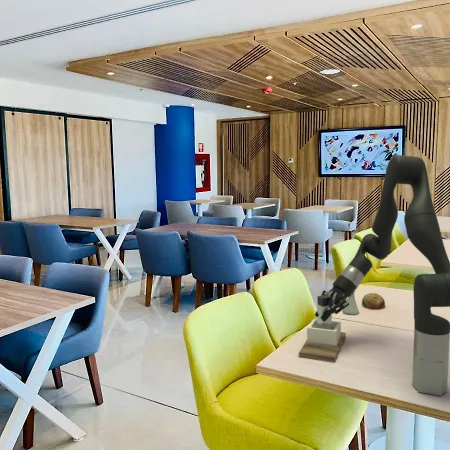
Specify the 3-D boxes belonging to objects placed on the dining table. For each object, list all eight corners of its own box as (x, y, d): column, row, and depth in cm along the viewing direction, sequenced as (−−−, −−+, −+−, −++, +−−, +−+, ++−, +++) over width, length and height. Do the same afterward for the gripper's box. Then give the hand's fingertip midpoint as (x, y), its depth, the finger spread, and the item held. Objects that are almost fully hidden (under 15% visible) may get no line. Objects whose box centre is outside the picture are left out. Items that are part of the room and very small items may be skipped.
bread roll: (360, 312, 208) (354, 297, 205) (375, 300, 211) (370, 285, 209) (375, 318, 199) (370, 303, 197) (391, 305, 202) (386, 291, 200)
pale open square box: (336, 348, 154) (336, 331, 154) (307, 344, 158) (307, 327, 158) (340, 337, 164) (340, 322, 163) (313, 334, 167) (313, 318, 167)
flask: (340, 314, 195) (340, 291, 193) (344, 309, 201) (344, 287, 200) (357, 316, 191) (358, 293, 190) (360, 311, 198) (361, 289, 196)
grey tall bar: (331, 335, 160) (331, 297, 158) (322, 336, 159) (322, 298, 157) (326, 332, 163) (327, 294, 161) (317, 334, 161) (317, 296, 160)
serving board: (334, 362, 147) (335, 357, 147) (298, 356, 152) (298, 352, 151) (345, 336, 169) (345, 332, 169) (313, 332, 174) (313, 328, 173)
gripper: (330, 270, 167) (302, 306, 164) (355, 278, 154) (324, 318, 151) (342, 282, 170) (314, 318, 167) (367, 292, 157) (337, 331, 154)
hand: (319, 318), depth 159 cm, fingers closed on grey tall bar, 3 cm apart
